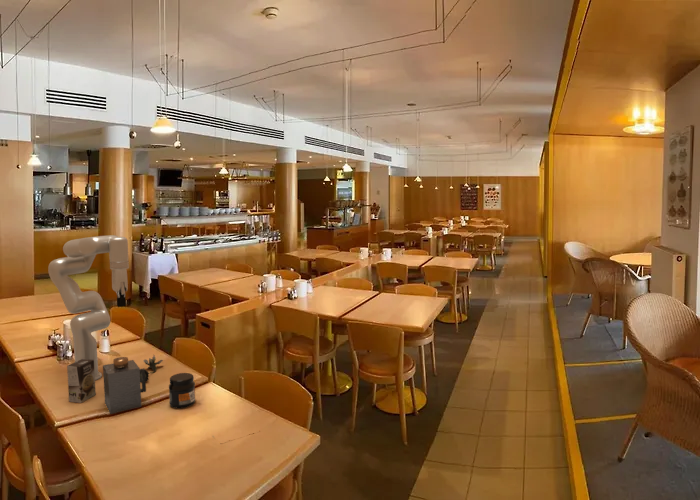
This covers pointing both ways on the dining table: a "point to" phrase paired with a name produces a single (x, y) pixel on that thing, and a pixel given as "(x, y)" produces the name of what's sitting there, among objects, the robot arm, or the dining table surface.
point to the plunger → (120, 362)
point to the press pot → (123, 387)
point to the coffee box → (81, 380)
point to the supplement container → (182, 390)
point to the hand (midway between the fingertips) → (121, 306)
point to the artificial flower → (151, 365)
